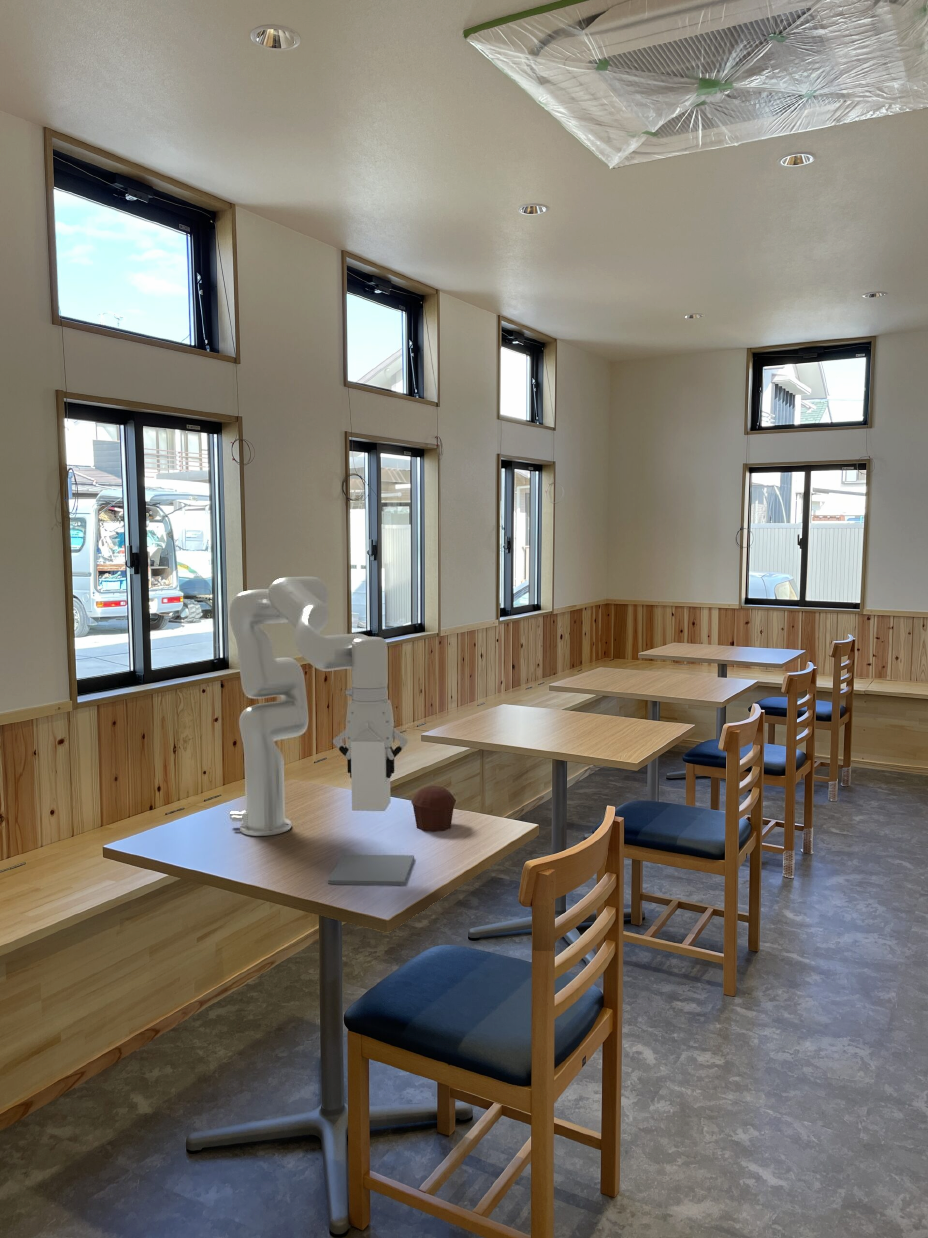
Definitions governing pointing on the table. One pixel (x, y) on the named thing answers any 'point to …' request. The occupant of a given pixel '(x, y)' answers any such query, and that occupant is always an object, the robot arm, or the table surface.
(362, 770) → the milk carton
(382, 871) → the mat
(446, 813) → the muffin
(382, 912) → the table surface
